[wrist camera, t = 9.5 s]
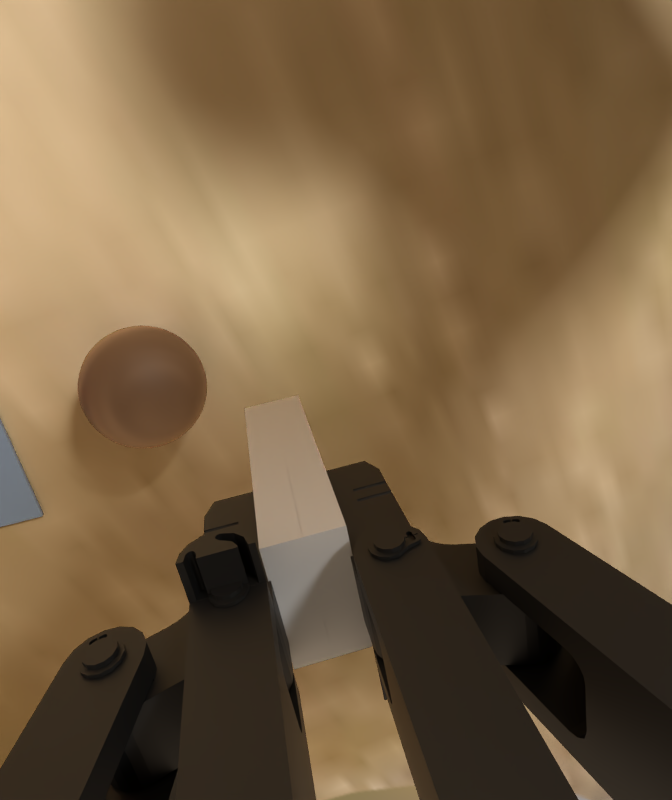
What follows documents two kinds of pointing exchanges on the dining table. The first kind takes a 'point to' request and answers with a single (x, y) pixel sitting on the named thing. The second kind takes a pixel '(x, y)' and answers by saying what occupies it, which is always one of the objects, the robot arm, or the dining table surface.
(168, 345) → the brown ball
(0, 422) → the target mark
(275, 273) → the dining table surface
